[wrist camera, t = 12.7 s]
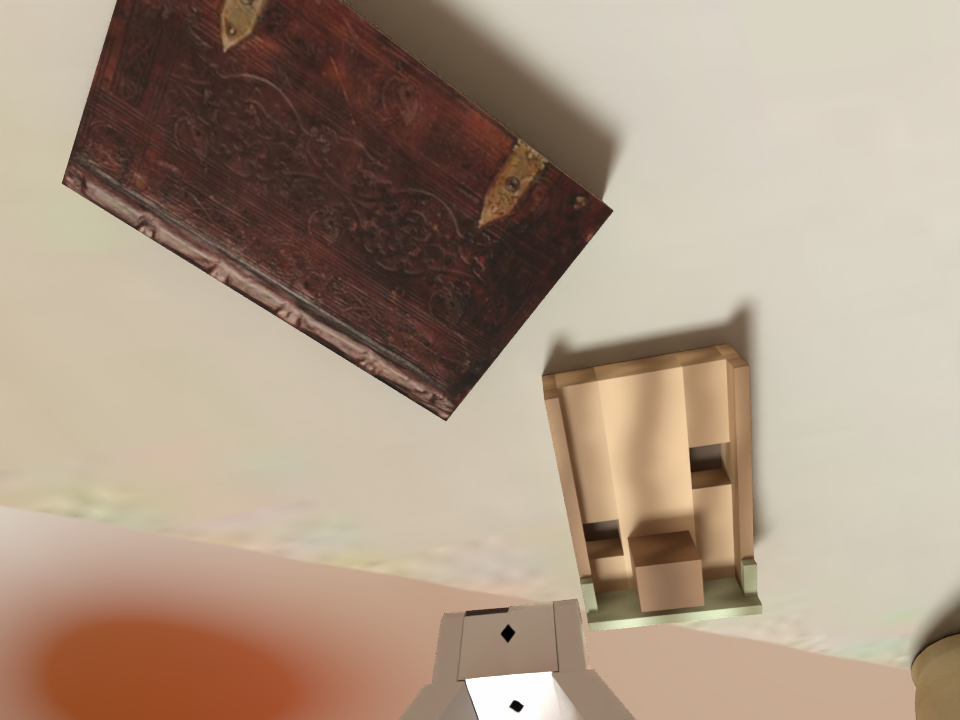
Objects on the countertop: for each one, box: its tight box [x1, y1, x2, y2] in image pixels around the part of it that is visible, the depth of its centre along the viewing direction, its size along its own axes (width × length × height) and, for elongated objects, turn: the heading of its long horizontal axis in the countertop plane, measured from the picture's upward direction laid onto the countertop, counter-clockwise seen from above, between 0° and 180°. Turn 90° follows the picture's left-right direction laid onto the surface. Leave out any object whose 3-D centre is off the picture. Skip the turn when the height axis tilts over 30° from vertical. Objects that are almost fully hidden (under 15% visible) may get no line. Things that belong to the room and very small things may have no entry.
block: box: [627, 530, 704, 612], centre depth 44 cm, size 5×5×3 cm
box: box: [542, 344, 762, 631], centre depth 42 cm, size 14×22×5 cm, turn 13°
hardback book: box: [62, 0, 613, 421], centre depth 35 cm, size 29×19×5 cm, turn 55°
